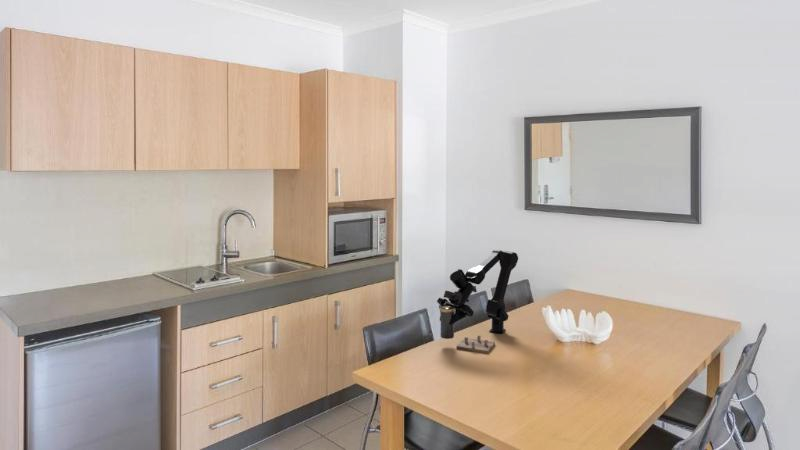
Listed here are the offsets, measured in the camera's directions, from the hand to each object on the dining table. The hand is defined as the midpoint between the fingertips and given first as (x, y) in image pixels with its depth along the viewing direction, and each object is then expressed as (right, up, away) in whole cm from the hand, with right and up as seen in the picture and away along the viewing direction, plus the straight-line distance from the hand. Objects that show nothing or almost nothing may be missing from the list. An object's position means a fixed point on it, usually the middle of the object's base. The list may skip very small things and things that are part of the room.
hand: (445, 322), depth 240 cm
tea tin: (+1, -6, +2) cm, 7 cm away
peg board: (+14, -11, +1) cm, 18 cm away
